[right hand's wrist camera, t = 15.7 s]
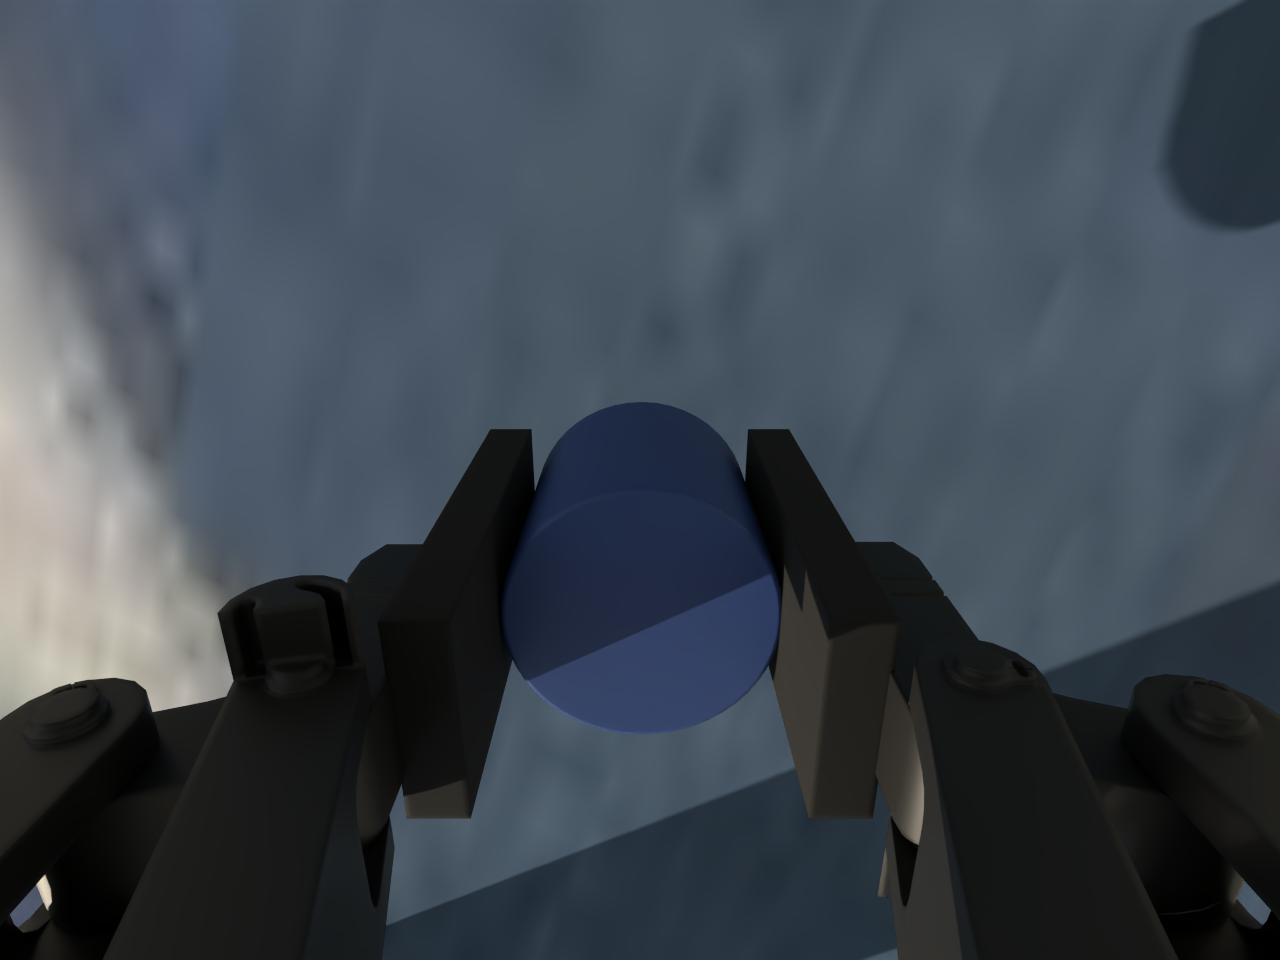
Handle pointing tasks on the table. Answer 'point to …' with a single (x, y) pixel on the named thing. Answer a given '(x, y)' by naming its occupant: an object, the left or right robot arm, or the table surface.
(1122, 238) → the table surface
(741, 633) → the blue cylinder
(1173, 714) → the right robot arm
